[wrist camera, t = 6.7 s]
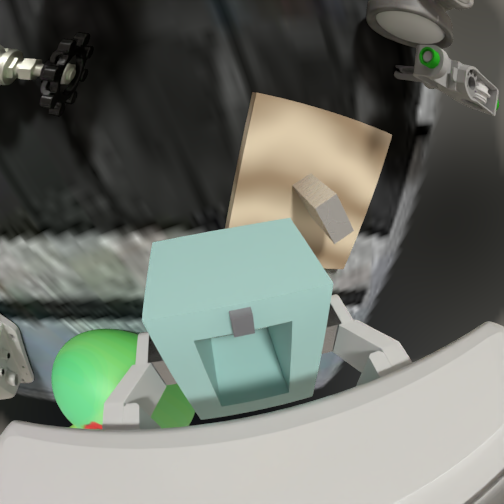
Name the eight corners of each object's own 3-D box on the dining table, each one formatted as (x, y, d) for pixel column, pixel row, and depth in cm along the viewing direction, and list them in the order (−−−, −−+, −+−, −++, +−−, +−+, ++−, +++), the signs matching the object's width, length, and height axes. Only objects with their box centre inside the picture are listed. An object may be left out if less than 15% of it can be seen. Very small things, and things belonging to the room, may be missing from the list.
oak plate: (337, 261, 33) (343, 269, 31) (220, 255, 29) (222, 264, 27) (383, 131, 25) (392, 134, 23) (252, 92, 20) (256, 92, 19)
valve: (-17, 97, 13) (75, 112, 18) (-59, 109, 8) (40, 123, 12) (2, 33, 10) (101, 39, 15) (-38, 29, 5) (73, 26, 10)
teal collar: (289, 335, 15) (314, 401, 12) (193, 354, 15) (201, 425, 11) (289, 217, 11) (337, 290, 7) (152, 242, 10) (141, 328, 7)
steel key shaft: (328, 205, 26) (353, 230, 22) (311, 217, 27) (334, 244, 22) (310, 173, 24) (336, 193, 20) (292, 185, 24) (315, 208, 20)
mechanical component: (360, 42, 19) (438, 38, 11) (431, 76, 22) (502, 92, 13) (356, 69, 21) (434, 75, 12) (428, 99, 23) (498, 120, 15)
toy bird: (212, 334, 35) (233, 441, 23) (161, 392, 40) (168, 473, 29) (76, 282, 26) (41, 399, 14) (57, 358, 32) (41, 445, 20)
